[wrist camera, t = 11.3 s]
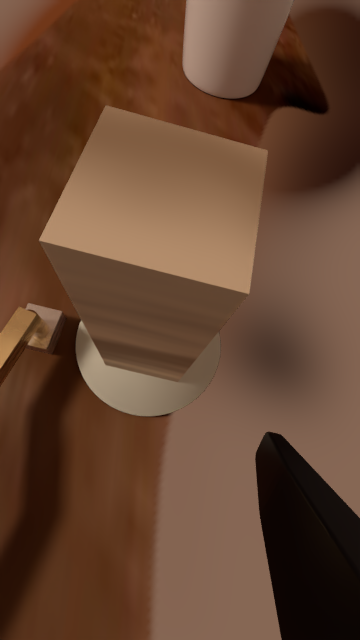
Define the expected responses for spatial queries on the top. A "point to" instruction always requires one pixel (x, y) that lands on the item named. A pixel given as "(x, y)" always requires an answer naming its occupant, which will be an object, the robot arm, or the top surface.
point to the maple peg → (156, 239)
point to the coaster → (144, 380)
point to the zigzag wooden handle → (29, 334)
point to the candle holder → (231, 43)
